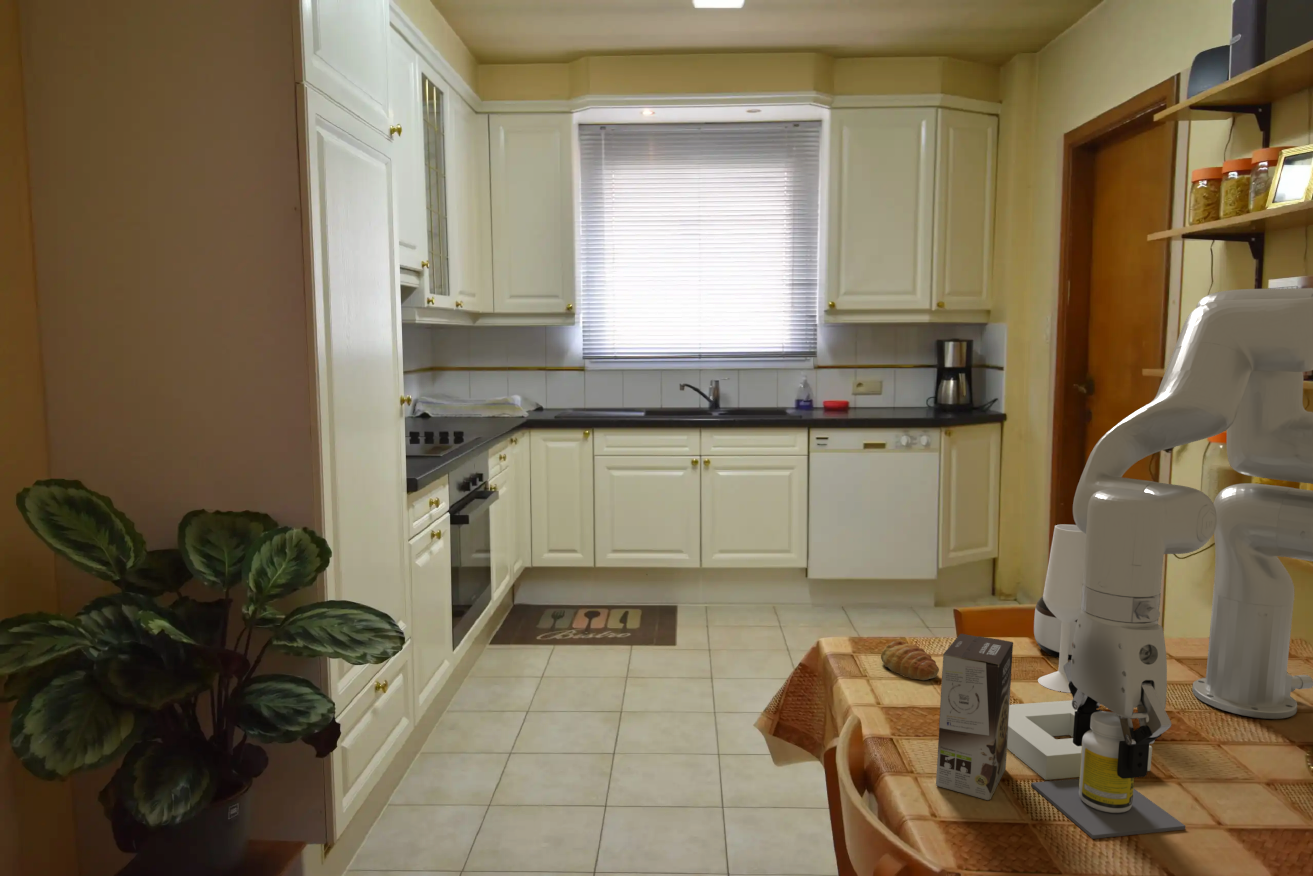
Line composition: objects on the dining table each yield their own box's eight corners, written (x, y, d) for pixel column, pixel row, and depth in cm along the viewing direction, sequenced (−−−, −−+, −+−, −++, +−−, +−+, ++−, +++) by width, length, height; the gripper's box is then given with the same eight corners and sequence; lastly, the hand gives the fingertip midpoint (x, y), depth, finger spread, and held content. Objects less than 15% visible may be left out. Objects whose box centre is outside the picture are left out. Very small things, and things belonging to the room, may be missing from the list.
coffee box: (992, 802, 100) (999, 664, 98) (934, 786, 104) (940, 653, 102) (1008, 769, 108) (1015, 640, 106) (953, 755, 111) (960, 630, 109)
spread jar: (1040, 659, 144) (1044, 589, 143) (1023, 636, 156) (1027, 570, 154) (1119, 664, 142) (1124, 593, 141) (1096, 640, 154) (1101, 574, 152)
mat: (1115, 778, 106) (1115, 775, 106) (1185, 829, 95) (1185, 825, 95) (1031, 786, 104) (1031, 782, 104) (1092, 838, 93) (1093, 835, 93)
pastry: (950, 679, 136) (951, 655, 136) (915, 686, 133) (916, 662, 133) (908, 658, 145) (908, 635, 144) (875, 665, 142) (875, 642, 141)
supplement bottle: (1139, 817, 97) (1145, 731, 95) (1086, 812, 98) (1091, 727, 96) (1123, 791, 102) (1128, 709, 101) (1072, 787, 103) (1077, 706, 102)
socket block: (1076, 720, 121) (1078, 699, 121) (1150, 770, 108) (1152, 747, 107) (982, 728, 119) (983, 706, 119) (1045, 780, 105) (1046, 756, 105)
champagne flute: (1027, 679, 136) (1037, 525, 133) (1060, 672, 139) (1070, 521, 136) (1063, 695, 130) (1074, 534, 127) (1096, 688, 132) (1108, 530, 130)
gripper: (1212, 628, 89) (1198, 797, 91) (1098, 580, 106) (1088, 723, 108) (1145, 632, 88) (1132, 803, 90) (1040, 583, 105) (1031, 728, 107)
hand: (1108, 758), depth 99 cm, fingers open, 6 cm apart
